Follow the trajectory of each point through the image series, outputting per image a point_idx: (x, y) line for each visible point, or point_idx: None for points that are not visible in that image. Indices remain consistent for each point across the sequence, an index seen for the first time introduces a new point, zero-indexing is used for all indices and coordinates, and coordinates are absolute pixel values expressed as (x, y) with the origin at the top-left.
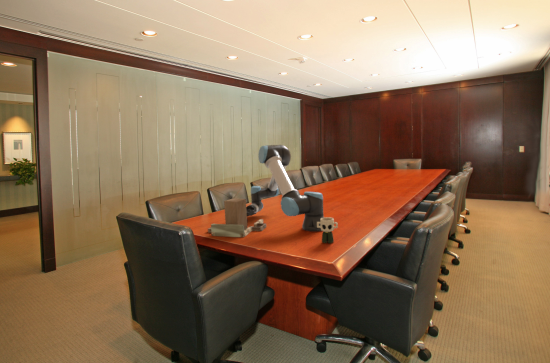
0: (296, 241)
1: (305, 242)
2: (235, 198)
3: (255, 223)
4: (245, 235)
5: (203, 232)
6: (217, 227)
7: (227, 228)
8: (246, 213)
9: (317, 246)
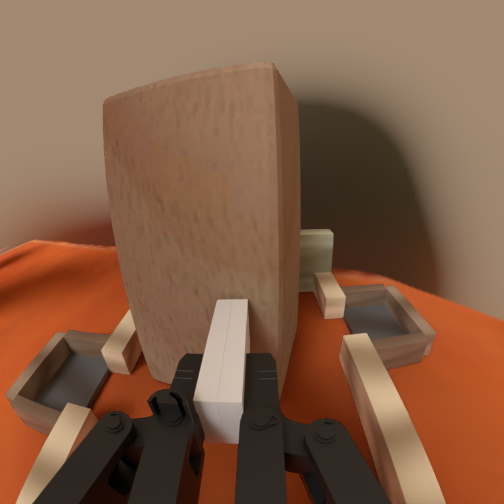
0: (17, 278)
1: (7, 275)
2: (235, 66)
3: (74, 416)
4: None
5: (409, 300)
6: None
7: None
8: (118, 249)
9: (5, 265)
